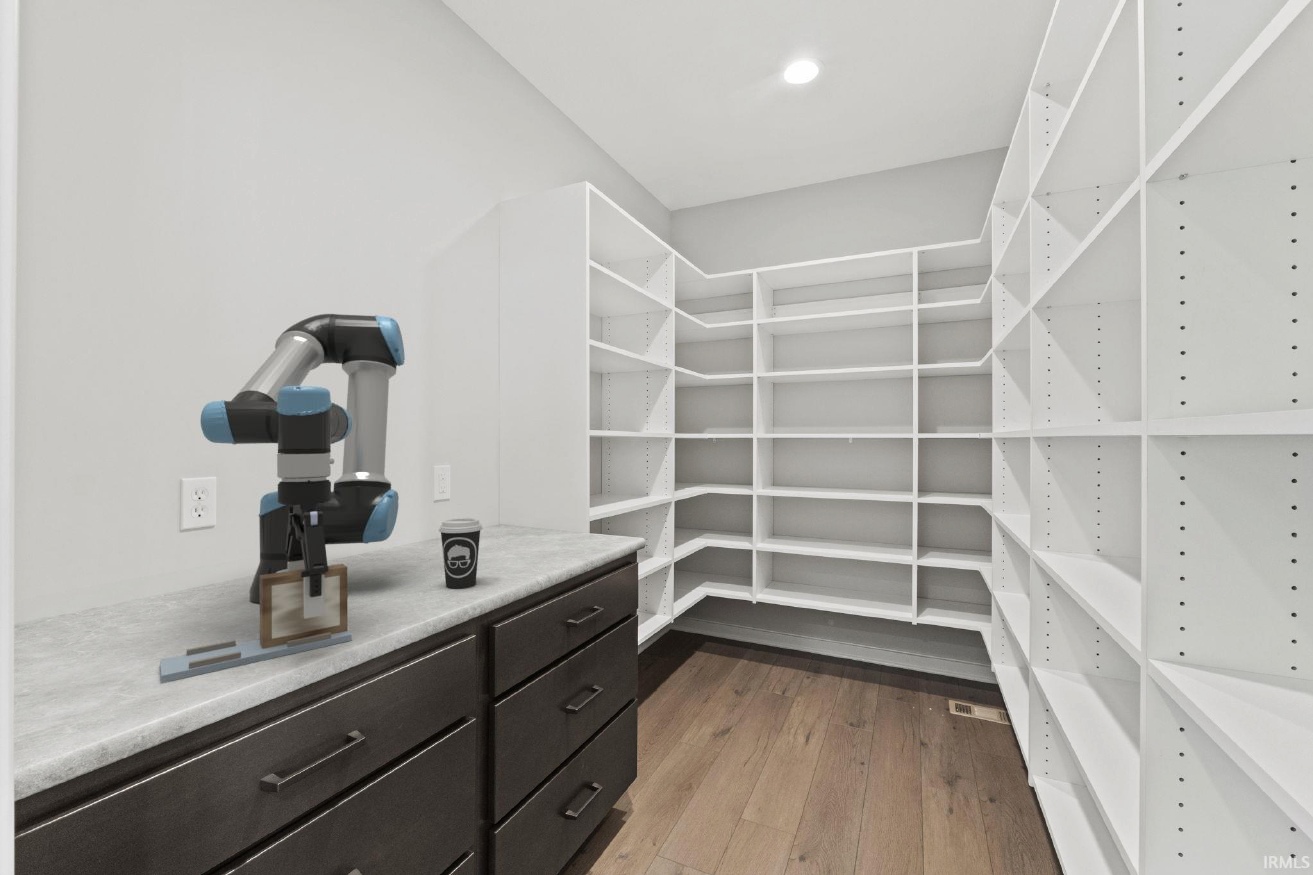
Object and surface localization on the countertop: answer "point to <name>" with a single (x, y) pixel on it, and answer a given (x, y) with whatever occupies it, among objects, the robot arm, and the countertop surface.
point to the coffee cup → (460, 551)
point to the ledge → (238, 654)
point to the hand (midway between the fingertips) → (305, 606)
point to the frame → (300, 606)
